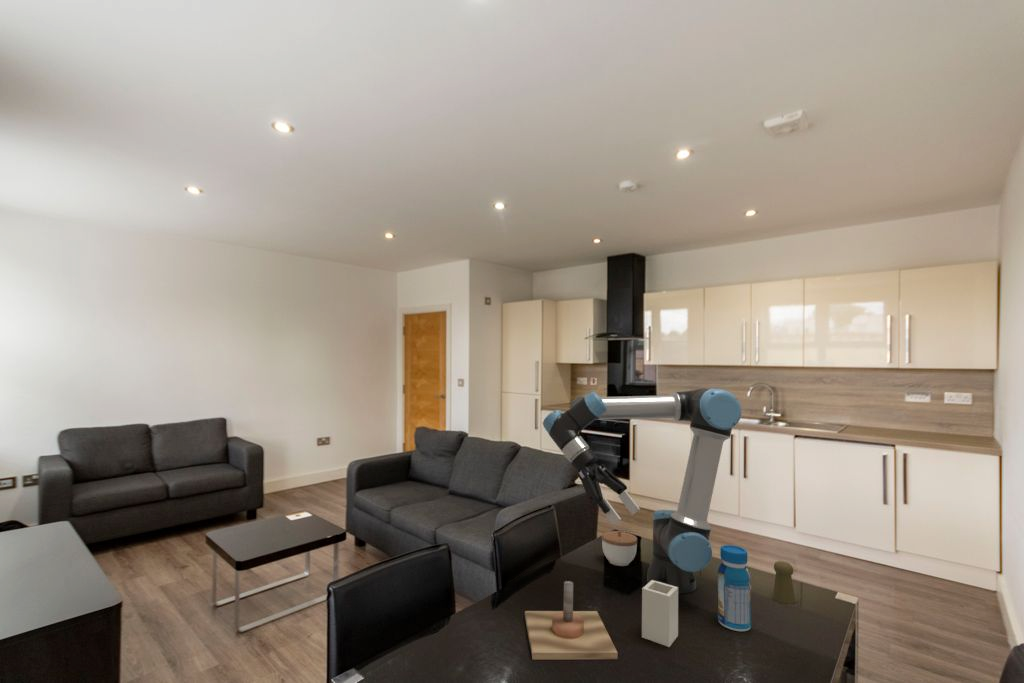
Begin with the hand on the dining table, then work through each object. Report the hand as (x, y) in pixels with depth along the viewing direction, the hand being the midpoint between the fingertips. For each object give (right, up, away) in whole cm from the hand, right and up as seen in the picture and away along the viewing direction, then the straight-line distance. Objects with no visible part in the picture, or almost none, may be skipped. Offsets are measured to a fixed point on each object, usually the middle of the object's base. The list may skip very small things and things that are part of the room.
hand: (627, 517), depth 131 cm
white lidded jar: (+7, -31, +40) cm, 51 cm away
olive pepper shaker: (+52, -31, +13) cm, 61 cm away
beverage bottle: (+29, -28, -3) cm, 40 cm away
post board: (-18, -26, -12) cm, 34 cm away
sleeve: (+6, -27, -10) cm, 29 cm away
